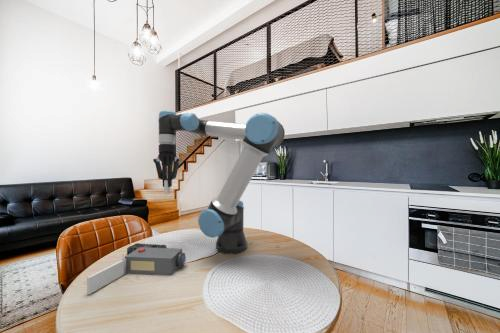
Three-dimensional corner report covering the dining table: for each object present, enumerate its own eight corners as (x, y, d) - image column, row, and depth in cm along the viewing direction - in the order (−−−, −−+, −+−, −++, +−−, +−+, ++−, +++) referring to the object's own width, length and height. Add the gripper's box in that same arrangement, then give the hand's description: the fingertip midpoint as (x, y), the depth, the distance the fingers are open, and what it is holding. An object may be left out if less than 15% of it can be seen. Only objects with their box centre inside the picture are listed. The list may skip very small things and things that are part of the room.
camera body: (187, 263, 82) (187, 246, 82) (177, 275, 73) (177, 256, 73) (139, 261, 83) (139, 245, 83) (124, 273, 74) (124, 254, 74)
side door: (89, 295, 61) (89, 277, 61) (85, 294, 62) (85, 276, 62) (127, 273, 74) (127, 258, 74) (123, 272, 74) (123, 257, 74)
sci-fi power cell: (158, 253, 83) (172, 244, 92) (118, 250, 86) (135, 241, 96) (158, 263, 83) (172, 253, 92) (118, 260, 86) (135, 250, 96)
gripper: (183, 145, 100) (183, 193, 99) (158, 145, 101) (158, 192, 100) (177, 143, 92) (176, 195, 92) (149, 143, 93) (149, 194, 93)
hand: (167, 193), depth 96 cm, fingers closed
